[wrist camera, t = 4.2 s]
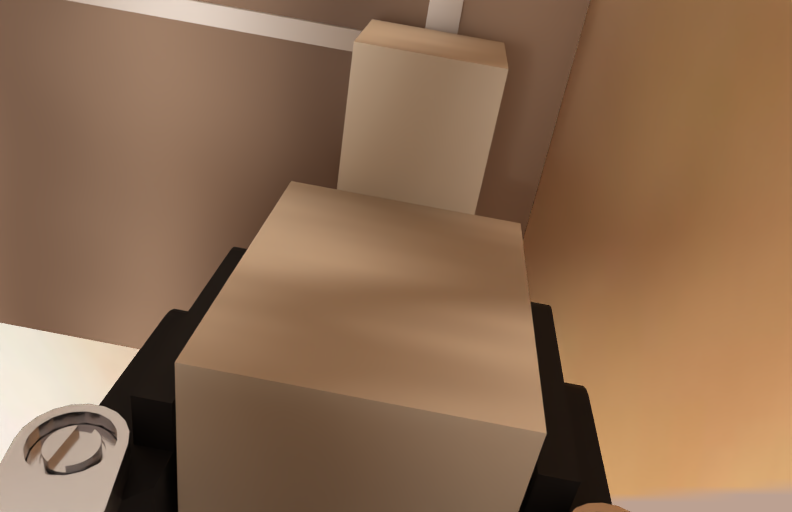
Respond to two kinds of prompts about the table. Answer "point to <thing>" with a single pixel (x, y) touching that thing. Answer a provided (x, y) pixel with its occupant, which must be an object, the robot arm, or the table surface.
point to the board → (210, 136)
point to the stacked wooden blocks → (375, 315)
